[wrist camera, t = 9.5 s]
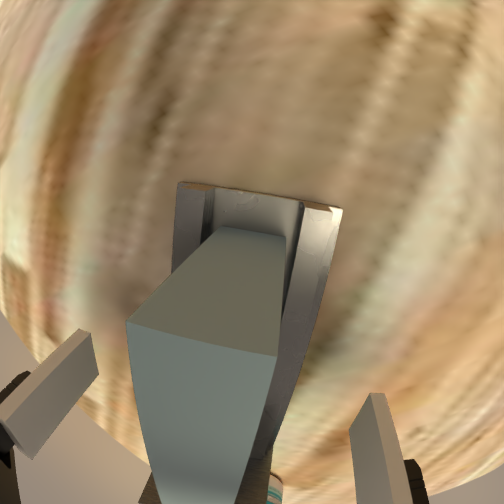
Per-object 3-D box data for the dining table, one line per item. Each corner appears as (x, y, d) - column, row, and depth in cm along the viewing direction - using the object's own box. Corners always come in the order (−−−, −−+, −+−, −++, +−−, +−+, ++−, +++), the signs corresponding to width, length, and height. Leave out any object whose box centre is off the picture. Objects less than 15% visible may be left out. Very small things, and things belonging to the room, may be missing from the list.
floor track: (182, 181, 14) (66, 212, 6) (340, 207, 14) (404, 272, 6) (176, 431, 21) (142, 510, 12) (269, 451, 20) (257, 538, 12)
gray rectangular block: (220, 225, 14) (125, 320, 6) (286, 237, 14) (277, 356, 5) (204, 398, 18) (163, 508, 9) (250, 408, 18) (226, 524, 9)
